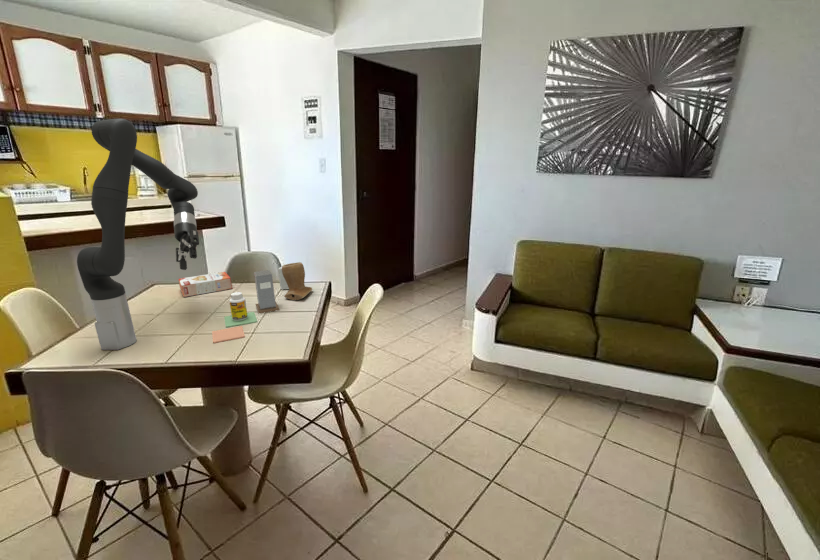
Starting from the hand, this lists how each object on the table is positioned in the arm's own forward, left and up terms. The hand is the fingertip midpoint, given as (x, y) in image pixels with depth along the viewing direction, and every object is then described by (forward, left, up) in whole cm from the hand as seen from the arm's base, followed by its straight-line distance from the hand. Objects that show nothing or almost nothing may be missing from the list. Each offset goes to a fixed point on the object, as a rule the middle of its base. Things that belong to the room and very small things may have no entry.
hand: (188, 263), depth 146 cm
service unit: (+15, -21, -23) cm, 34 cm away
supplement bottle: (+2, -15, -23) cm, 27 cm away
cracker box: (+46, +11, -20) cm, 51 cm away
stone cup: (+31, -28, -23) cm, 47 cm away
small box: (+43, -20, -23) cm, 52 cm away
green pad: (+2, -15, -23) cm, 28 cm away
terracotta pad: (-11, -17, -23) cm, 31 cm away
